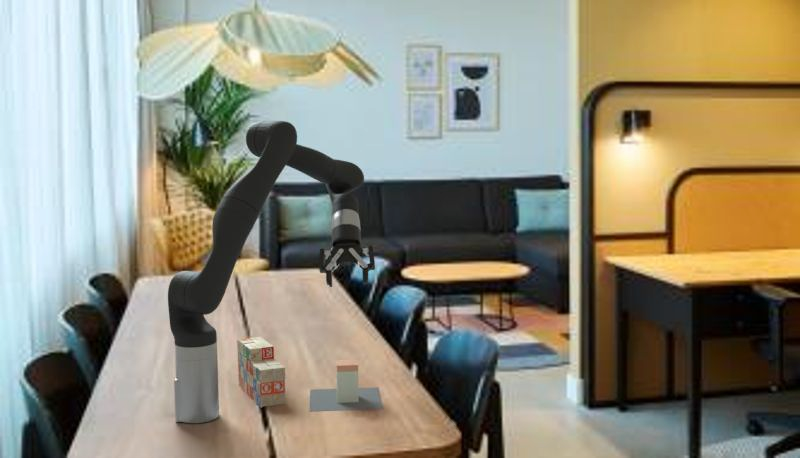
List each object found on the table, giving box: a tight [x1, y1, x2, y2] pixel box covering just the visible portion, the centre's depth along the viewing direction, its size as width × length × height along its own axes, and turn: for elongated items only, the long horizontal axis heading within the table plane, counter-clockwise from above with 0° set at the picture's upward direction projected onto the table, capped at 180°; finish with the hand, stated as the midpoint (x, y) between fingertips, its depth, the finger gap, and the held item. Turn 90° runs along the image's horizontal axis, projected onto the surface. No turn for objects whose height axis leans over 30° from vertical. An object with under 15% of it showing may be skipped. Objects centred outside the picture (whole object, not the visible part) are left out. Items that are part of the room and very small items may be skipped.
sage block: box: [335, 359, 359, 403], centre depth 202 cm, size 5×5×9 cm
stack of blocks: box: [236, 336, 286, 409], centre depth 207 cm, size 21×6×12 cm, turn 24°
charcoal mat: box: [309, 386, 384, 413], centre depth 203 cm, size 17×17×1 cm
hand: (347, 284), depth 213 cm, fingers open, 8 cm apart
